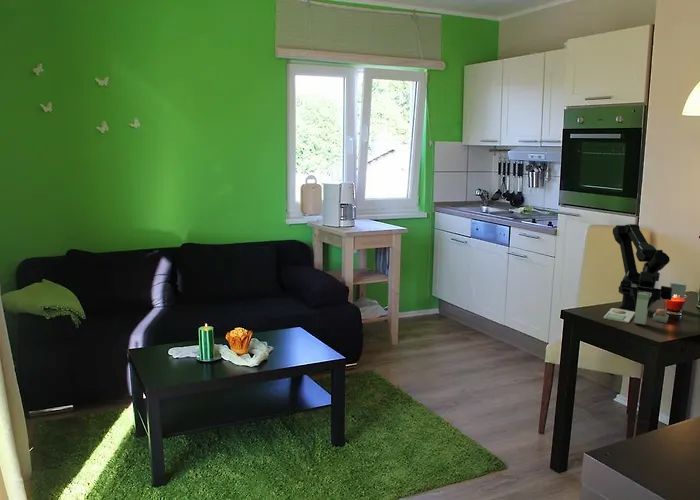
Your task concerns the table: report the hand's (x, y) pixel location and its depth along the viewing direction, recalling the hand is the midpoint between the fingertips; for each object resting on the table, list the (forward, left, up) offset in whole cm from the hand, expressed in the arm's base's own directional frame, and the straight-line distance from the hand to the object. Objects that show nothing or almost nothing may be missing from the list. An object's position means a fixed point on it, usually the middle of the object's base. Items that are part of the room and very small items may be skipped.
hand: (641, 307), depth 244 cm
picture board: (-9, -9, -7) cm, 14 cm away
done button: (-13, +6, -5) cm, 16 cm away
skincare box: (-35, +9, -8) cm, 37 cm away
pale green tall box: (-1, 0, -7) cm, 7 cm away
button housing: (-13, +6, -7) cm, 16 cm away
